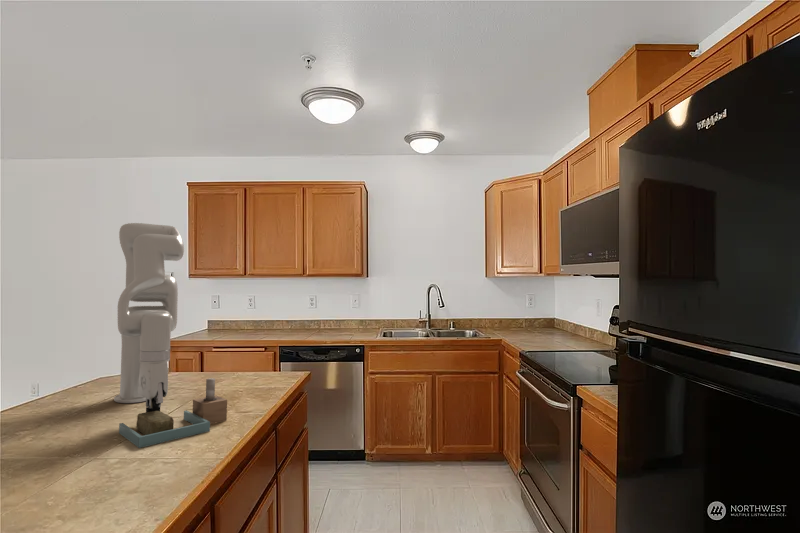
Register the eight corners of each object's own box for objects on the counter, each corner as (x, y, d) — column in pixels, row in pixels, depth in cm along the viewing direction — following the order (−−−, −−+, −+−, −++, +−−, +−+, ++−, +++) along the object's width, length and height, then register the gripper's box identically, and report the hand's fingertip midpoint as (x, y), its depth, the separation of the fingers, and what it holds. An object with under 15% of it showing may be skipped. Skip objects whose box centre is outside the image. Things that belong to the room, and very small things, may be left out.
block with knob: (192, 420, 132) (193, 379, 132) (215, 415, 137) (216, 375, 138) (202, 425, 127) (204, 382, 128) (226, 420, 133) (227, 379, 133)
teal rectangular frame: (119, 433, 120) (119, 423, 120) (186, 418, 133) (186, 410, 133) (139, 447, 110) (139, 437, 110) (209, 431, 123) (210, 421, 123)
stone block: (151, 441, 115) (152, 421, 115) (134, 431, 123) (135, 412, 123) (175, 435, 120) (175, 416, 120) (157, 426, 127) (157, 408, 127)
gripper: (131, 354, 131) (129, 418, 130) (150, 361, 120) (147, 430, 120) (159, 351, 136) (156, 412, 136) (179, 358, 126) (177, 424, 125)
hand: (152, 420), depth 128 cm, fingers closed
